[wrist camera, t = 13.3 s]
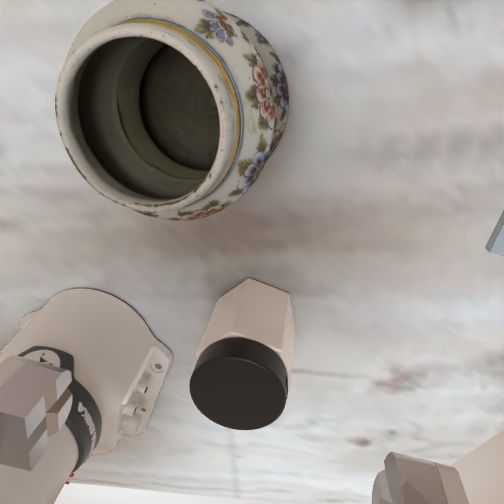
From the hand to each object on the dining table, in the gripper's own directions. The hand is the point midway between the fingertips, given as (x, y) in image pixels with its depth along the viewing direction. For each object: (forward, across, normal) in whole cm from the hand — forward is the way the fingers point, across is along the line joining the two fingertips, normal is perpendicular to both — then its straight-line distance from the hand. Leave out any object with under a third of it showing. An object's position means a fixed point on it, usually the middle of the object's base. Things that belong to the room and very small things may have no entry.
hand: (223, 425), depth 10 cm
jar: (+29, 0, -17) cm, 34 cm away
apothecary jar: (+29, -7, +4) cm, 30 cm away
